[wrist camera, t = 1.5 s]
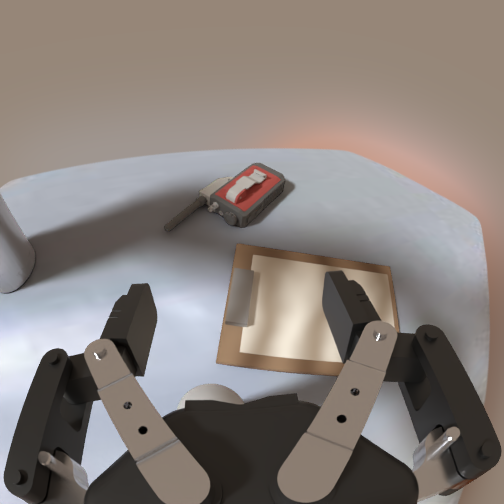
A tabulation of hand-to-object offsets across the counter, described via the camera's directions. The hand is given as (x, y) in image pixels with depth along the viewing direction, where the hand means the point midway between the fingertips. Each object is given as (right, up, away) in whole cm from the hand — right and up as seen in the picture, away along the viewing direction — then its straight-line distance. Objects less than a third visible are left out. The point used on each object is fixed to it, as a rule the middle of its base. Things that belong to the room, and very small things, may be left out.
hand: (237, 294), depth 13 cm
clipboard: (+9, -5, +22) cm, 24 cm away
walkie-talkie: (-3, +8, +31) cm, 33 cm away
